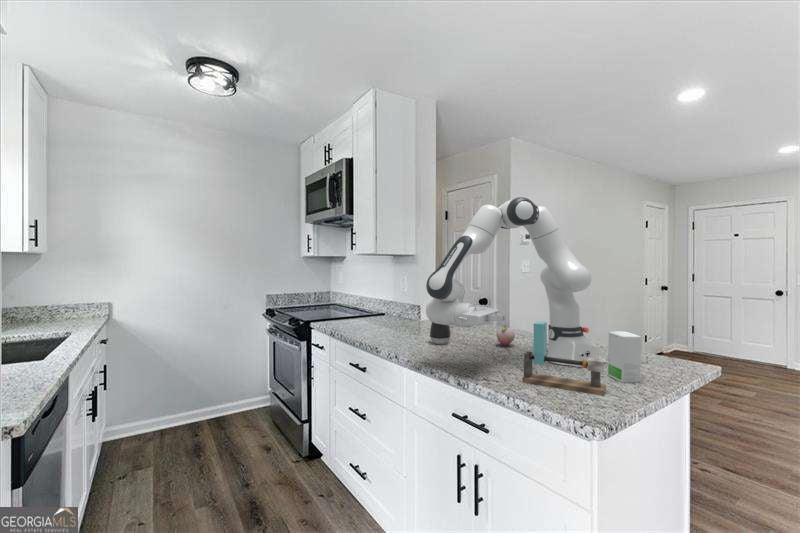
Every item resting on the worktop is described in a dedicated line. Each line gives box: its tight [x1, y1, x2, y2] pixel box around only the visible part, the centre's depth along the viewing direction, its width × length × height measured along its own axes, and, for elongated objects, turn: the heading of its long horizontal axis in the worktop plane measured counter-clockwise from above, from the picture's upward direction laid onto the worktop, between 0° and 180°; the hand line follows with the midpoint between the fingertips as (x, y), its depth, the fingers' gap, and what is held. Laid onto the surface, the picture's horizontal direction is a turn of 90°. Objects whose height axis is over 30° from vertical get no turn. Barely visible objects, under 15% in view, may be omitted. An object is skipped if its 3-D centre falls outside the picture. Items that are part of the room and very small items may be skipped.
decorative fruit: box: [496, 325, 516, 347], centre depth 180 cm, size 9×8×10 cm
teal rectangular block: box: [533, 320, 548, 366], centre depth 127 cm, size 3×5×14 cm, turn 147°
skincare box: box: [607, 330, 642, 384], centre depth 129 cm, size 8×7×16 cm
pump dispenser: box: [429, 322, 452, 345], centre depth 187 cm, size 10×10×15 cm
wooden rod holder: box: [521, 351, 607, 396], centre depth 123 cm, size 24×7×10 cm, turn 57°
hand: (503, 318), depth 133 cm, fingers closed
